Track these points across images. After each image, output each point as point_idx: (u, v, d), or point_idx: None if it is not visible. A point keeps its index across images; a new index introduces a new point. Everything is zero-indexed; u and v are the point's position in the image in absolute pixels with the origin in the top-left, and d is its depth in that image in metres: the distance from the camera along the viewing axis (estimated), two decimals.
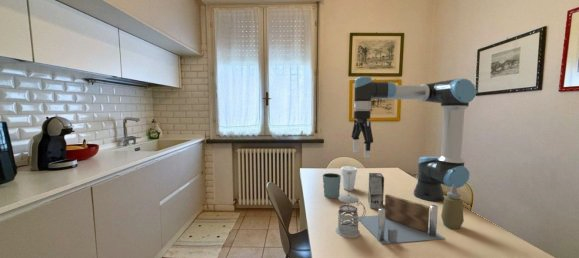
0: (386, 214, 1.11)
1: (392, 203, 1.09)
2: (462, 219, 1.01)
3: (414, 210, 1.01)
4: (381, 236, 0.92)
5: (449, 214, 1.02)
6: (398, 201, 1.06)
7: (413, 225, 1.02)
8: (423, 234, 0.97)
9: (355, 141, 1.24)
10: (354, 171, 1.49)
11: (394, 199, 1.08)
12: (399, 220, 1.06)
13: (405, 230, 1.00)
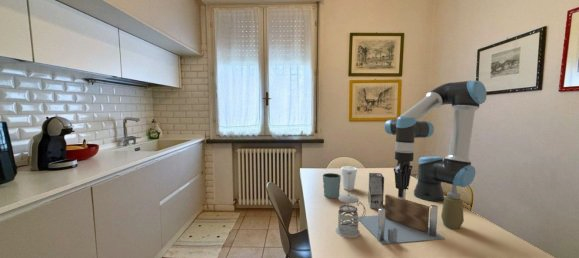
0: (386, 214, 1.11)
1: (392, 203, 1.09)
2: (462, 219, 1.01)
3: (414, 210, 1.01)
4: (381, 236, 0.92)
5: (449, 214, 1.02)
6: (398, 201, 1.06)
7: (413, 225, 1.02)
8: (423, 234, 0.97)
9: None
10: (354, 171, 1.49)
11: (394, 199, 1.08)
12: (399, 220, 1.06)
13: (405, 230, 1.00)
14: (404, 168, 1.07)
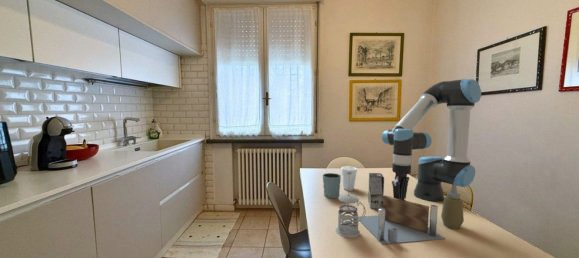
0: None
1: (390, 204, 1.07)
2: (462, 219, 1.01)
3: (414, 210, 1.01)
4: (381, 236, 0.92)
5: (449, 214, 1.02)
6: (397, 202, 1.05)
7: (412, 226, 1.01)
8: (423, 234, 0.97)
9: None
10: (354, 171, 1.49)
11: (392, 200, 1.06)
12: (398, 221, 1.05)
13: (405, 230, 1.00)
14: (402, 181, 1.07)
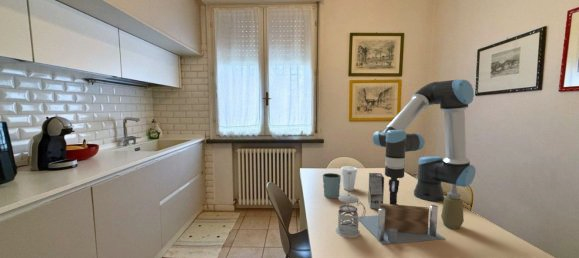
0: None
1: (389, 212, 0.99)
2: (462, 219, 1.01)
3: (415, 214, 0.97)
4: (381, 236, 0.92)
5: (449, 214, 1.02)
6: (396, 208, 0.98)
7: (413, 230, 0.98)
8: (423, 234, 0.97)
9: None
10: (354, 171, 1.49)
11: (391, 207, 0.98)
12: (397, 228, 0.99)
13: None
14: (397, 185, 1.01)
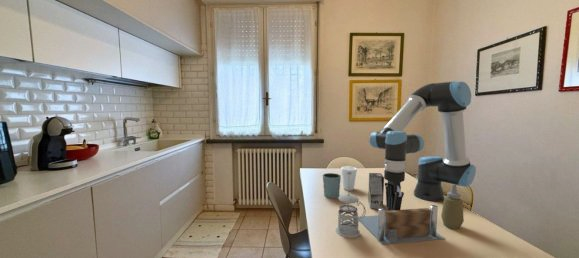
0: None
1: (396, 219, 0.93)
2: (462, 219, 1.01)
3: (419, 217, 0.94)
4: (381, 236, 0.92)
5: (449, 214, 1.02)
6: (402, 214, 0.93)
7: (417, 233, 0.95)
8: None
9: None
10: (354, 171, 1.49)
11: (398, 213, 0.93)
12: (403, 235, 0.94)
13: None
14: None
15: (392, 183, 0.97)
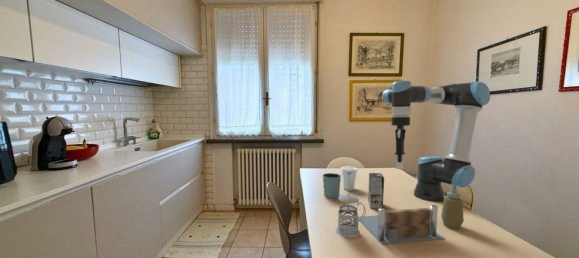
0: None
1: (396, 219, 0.93)
2: (462, 219, 1.01)
3: (419, 217, 0.94)
4: (381, 236, 0.92)
5: (449, 214, 1.02)
6: (402, 214, 0.93)
7: (417, 233, 0.95)
8: None
9: None
10: (354, 171, 1.49)
11: (398, 213, 0.93)
12: (403, 235, 0.94)
13: None
14: (403, 133, 1.07)
15: None
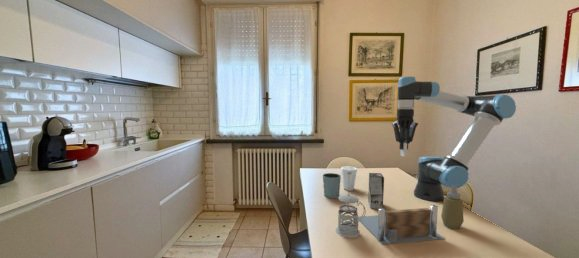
0: None
1: (396, 219, 0.93)
2: (462, 219, 1.01)
3: (419, 217, 0.94)
4: (381, 236, 0.92)
5: (449, 214, 1.02)
6: (402, 214, 0.93)
7: (417, 233, 0.95)
8: None
9: None
10: (354, 171, 1.49)
11: (398, 213, 0.93)
12: (403, 235, 0.94)
13: None
14: (403, 123, 1.20)
15: None
